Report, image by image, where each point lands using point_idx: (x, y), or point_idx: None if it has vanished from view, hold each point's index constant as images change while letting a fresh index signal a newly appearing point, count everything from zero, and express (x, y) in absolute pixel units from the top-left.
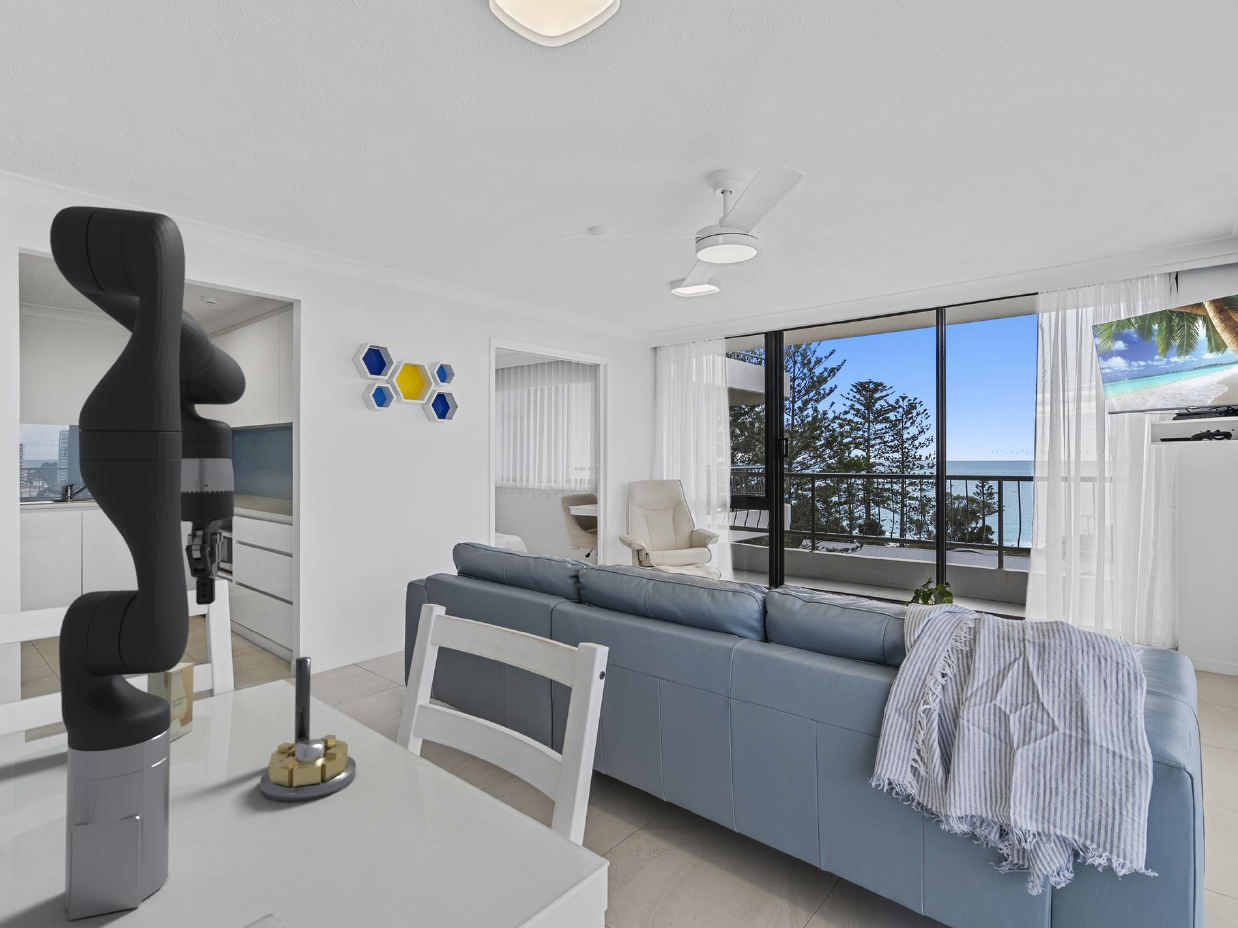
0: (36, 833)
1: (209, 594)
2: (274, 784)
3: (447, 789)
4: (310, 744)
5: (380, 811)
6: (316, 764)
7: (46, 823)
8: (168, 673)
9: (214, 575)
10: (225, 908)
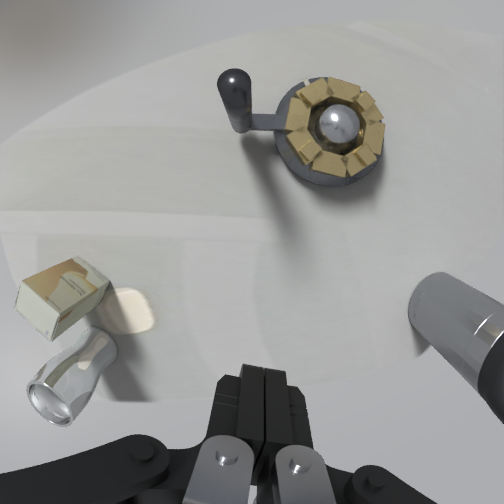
0: (296, 374)
1: (294, 402)
2: None
3: (413, 33)
4: (341, 122)
5: (430, 95)
6: (378, 127)
7: None
8: (60, 317)
9: (311, 455)
10: (490, 235)
